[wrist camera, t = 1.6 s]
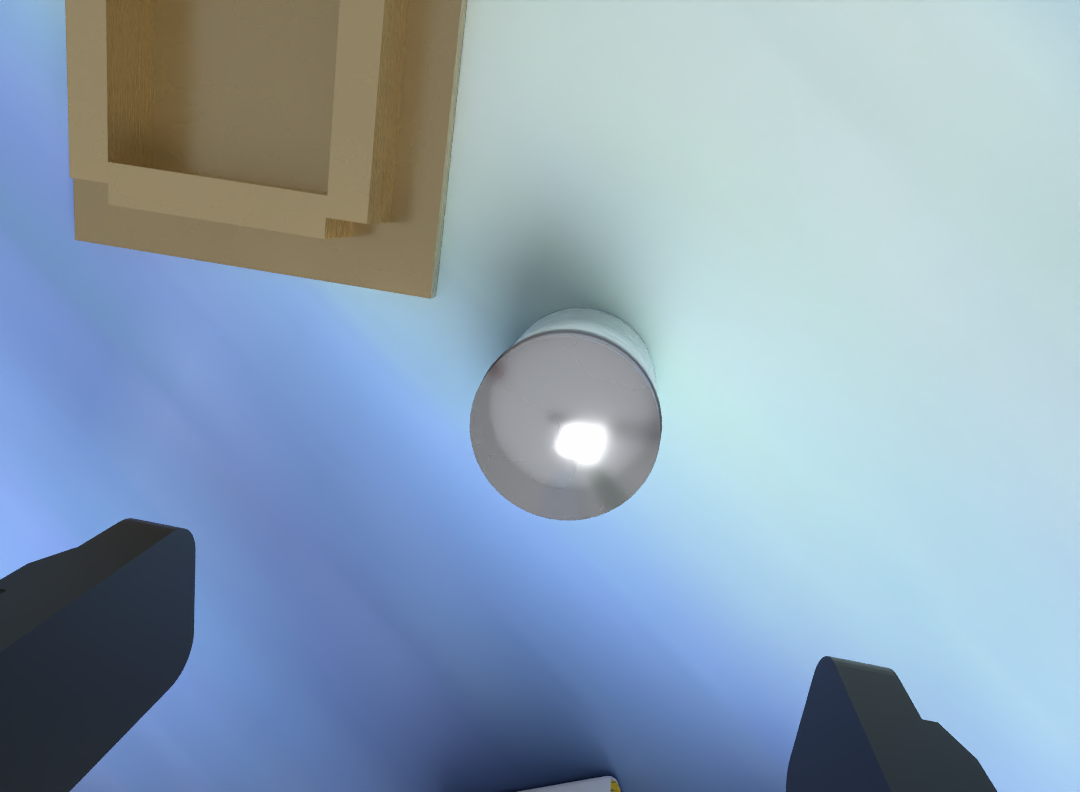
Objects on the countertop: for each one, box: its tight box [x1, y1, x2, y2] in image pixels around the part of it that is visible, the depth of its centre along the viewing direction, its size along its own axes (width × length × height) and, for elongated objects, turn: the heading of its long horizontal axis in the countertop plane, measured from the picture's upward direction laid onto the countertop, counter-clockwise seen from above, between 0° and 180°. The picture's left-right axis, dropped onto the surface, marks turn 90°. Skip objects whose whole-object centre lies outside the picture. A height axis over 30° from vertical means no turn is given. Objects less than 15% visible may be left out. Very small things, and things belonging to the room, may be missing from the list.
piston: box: [470, 308, 662, 520], centre depth 21 cm, size 5×5×5 cm
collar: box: [65, 0, 467, 298], centre depth 21 cm, size 12×12×3 cm
